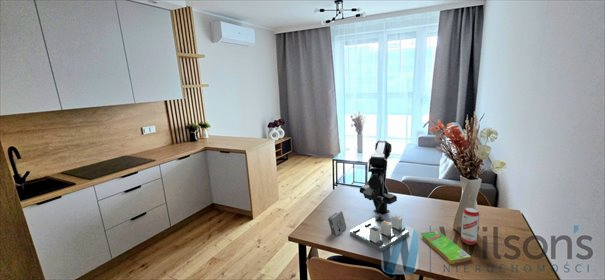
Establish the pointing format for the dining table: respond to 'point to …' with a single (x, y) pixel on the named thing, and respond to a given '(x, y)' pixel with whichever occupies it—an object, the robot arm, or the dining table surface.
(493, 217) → the dining table surface
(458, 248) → the game box
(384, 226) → the breaker
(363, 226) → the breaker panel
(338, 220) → the electrical switch
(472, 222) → the beer can
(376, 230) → the breaker
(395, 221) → the block
